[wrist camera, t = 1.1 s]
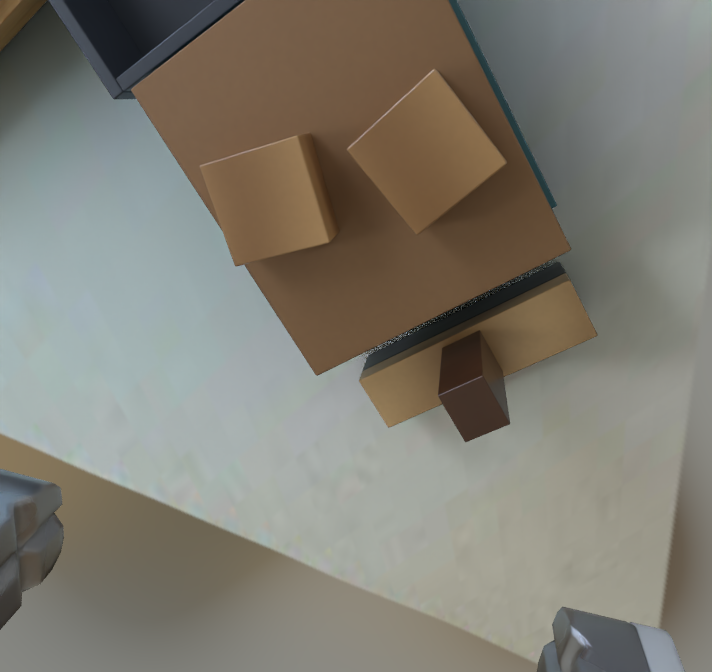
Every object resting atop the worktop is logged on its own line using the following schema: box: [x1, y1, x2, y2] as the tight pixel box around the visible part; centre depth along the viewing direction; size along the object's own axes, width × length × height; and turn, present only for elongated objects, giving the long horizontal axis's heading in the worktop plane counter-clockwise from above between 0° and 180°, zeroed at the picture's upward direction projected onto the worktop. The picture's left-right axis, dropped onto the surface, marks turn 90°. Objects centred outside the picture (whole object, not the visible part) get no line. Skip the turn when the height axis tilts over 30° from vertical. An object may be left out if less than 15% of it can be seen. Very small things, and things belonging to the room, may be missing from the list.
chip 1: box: [200, 133, 339, 266], centre depth 23 cm, size 4×4×2 cm
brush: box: [359, 262, 597, 442], centre depth 28 cm, size 11×3×8 cm, turn 121°
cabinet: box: [131, 0, 571, 375], centre depth 26 cm, size 12×14×6 cm
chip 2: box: [347, 69, 507, 235], centre depth 22 cm, size 4×4×2 cm
